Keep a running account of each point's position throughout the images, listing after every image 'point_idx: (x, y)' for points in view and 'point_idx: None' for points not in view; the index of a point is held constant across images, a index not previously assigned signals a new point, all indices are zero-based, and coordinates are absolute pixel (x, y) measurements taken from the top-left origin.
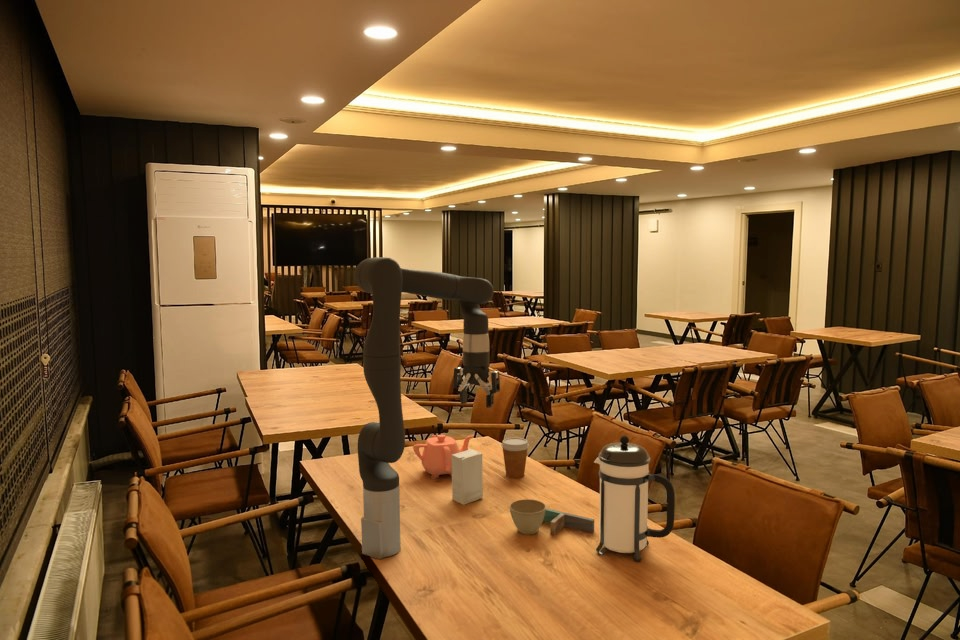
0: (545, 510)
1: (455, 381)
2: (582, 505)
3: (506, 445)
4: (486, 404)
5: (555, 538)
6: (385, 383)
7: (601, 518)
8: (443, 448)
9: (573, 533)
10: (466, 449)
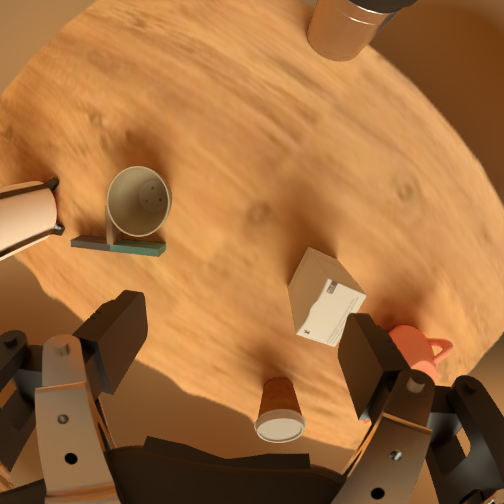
0: (111, 210)
1: (489, 422)
2: None
3: (289, 416)
4: (130, 298)
5: None
6: None
7: (25, 191)
8: None
9: (98, 221)
10: None
